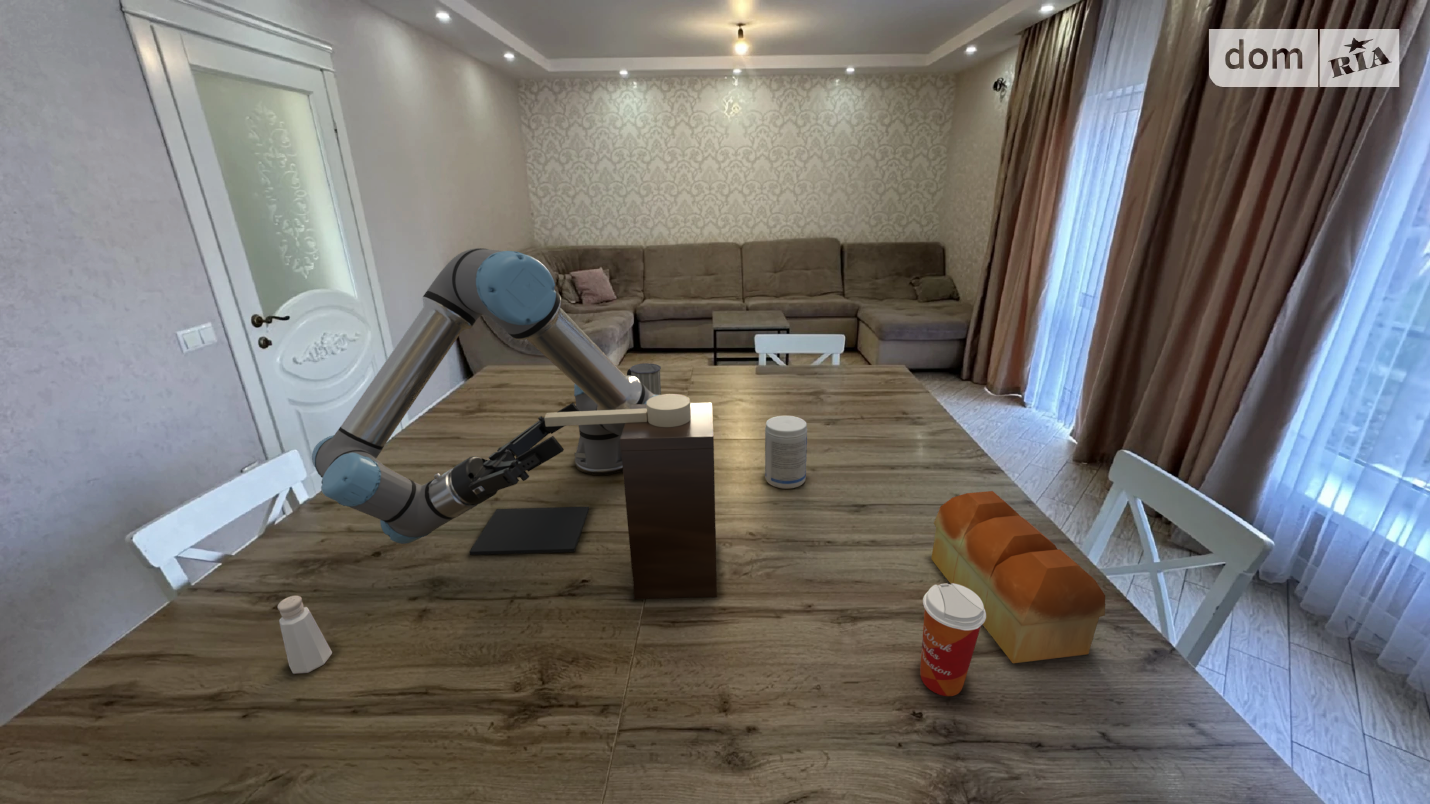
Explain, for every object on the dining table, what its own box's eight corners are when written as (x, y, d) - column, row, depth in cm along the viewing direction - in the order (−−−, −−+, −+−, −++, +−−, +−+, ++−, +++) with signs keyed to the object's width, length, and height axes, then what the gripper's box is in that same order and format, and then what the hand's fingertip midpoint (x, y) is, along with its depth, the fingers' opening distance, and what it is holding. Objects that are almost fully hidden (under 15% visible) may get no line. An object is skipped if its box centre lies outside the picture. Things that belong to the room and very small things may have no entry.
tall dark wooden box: (642, 548, 106) (631, 404, 95) (715, 546, 106) (712, 402, 95) (634, 599, 93) (619, 438, 82) (717, 596, 93) (713, 436, 82)
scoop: (551, 415, 91) (549, 398, 90) (690, 409, 92) (689, 392, 91) (542, 433, 85) (539, 415, 83) (691, 426, 86) (690, 408, 85)
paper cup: (903, 659, 80) (914, 582, 75) (954, 655, 81) (968, 578, 76) (927, 706, 73) (941, 624, 68) (982, 701, 74) (1000, 619, 68)
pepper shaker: (341, 650, 84) (321, 592, 80) (306, 679, 79) (283, 618, 75) (315, 642, 85) (294, 585, 81) (280, 669, 81) (255, 610, 77)
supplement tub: (813, 482, 128) (817, 425, 123) (782, 494, 124) (784, 435, 118) (786, 466, 136) (788, 411, 131) (756, 477, 131) (756, 420, 126)
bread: (1092, 656, 80) (1117, 573, 75) (1012, 666, 79) (1032, 582, 73) (991, 551, 103) (1005, 482, 98) (928, 557, 102) (938, 488, 97)
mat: (497, 512, 119) (496, 508, 119) (589, 509, 119) (589, 506, 119) (469, 555, 105) (469, 551, 105) (574, 552, 106) (574, 548, 105)
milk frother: (669, 411, 171) (667, 365, 166) (636, 429, 159) (632, 380, 153) (634, 402, 178) (630, 359, 173) (600, 419, 166) (595, 372, 160)
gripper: (414, 510, 80) (531, 440, 76) (479, 436, 103) (571, 380, 99) (449, 546, 82) (564, 481, 78) (505, 467, 105) (596, 413, 101)
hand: (568, 425), depth 89 cm, fingers open, 13 cm apart
